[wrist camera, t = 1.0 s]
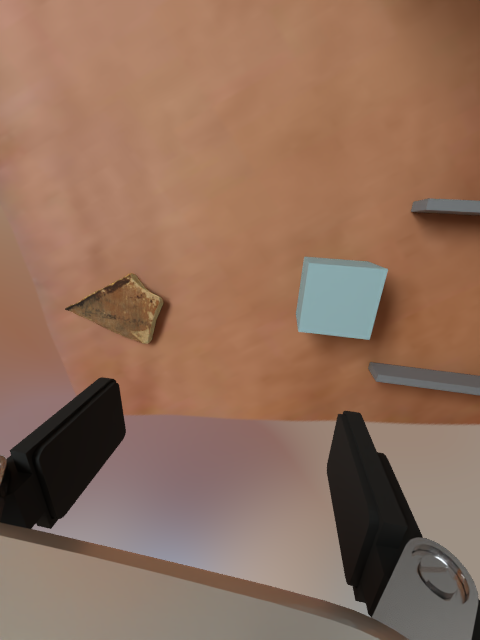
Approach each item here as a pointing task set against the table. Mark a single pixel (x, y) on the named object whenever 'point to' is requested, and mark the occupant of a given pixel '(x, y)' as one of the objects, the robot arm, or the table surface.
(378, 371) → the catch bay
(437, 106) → the table surface
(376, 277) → the teal block
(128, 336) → the shard
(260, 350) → the table surface
